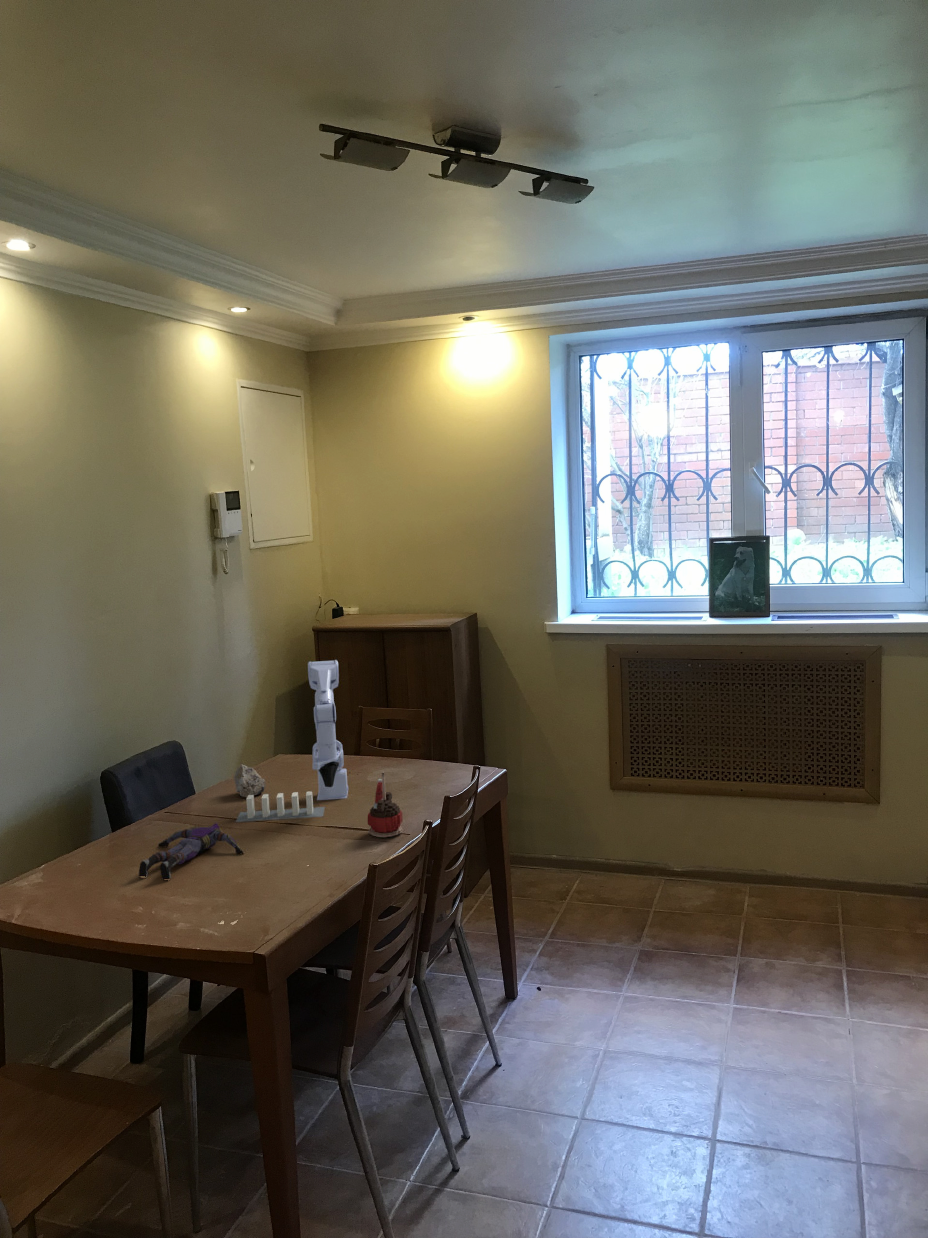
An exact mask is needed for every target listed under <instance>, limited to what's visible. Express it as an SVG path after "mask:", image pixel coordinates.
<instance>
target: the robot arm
mask: <svg viewBox="0 0 928 1238" xmlns="http://www.w3.org/2000/svg"><path fill="white" fill-rule="evenodd" d="M307 674H308V677H307V678H308V682H309V686H310V689H312V690H314V691H315V693H314V707H313V718H314V720H313V721H314V724H315V730H316V731H315V733H316V742H315V743H314V744H313V746H312V763H311V764H312V766H311V767H312V770H314V771H317V780H318V781H317V783H318V793H317V796H316V801H325V800H327V801H328V800H343V799H348V793H349V785H348V774H347V768H343V767H344V766H345V763H344V762H345V761H344V750H343V744H342V742H340V741H339V740H337V735H336V721H337V712H336V705H335V701H334V700H335V699H334V698H335V697H334V689H336V688H338V687H339V683H340V682H339V677H340V674H339V662H338V659H334V660H321V661H308V662H307Z"/></svg>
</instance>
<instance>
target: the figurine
mask: <svg viewBox="0 0 928 1238" xmlns="http://www.w3.org/2000/svg"><path fill="white" fill-rule="evenodd" d="M180 838H182V839H180ZM178 839H180V841H179V842H178V843H177V844H176V845H175V846H173V847H171V848H170V849H168V850H163V851H156V852H155V853H153V854H152V855H151V856H149V858H147V859H143V860H142V861H141V862H140V864H139V869H138V877H139V876H145V877H146V876H147V877H148V876H149V875H148V874H149V870H150V869H151V868H152V867H153V866H154V865H157V864H159V863H160V865H159V868H160V869H159V870H160V875H161V878H163V879H170V878H171V879H172V875H171V869H172V868H173V867H174V866H175V865H182V864H183V863H185V862H186V861H189V860H191V859H193V858H195V857H196V856H197V855H201V854H203V853H204V851H206V850H209V849H208V848H210V849H211V848H213V847H214V846H215V845H216V843H217V842H226V843H228V845H230V846H231V847H233V848H234V849H235V853H236V852H237V853H238V854H240V853H242V854H241V855H244V851H243V850H242V849H241V847H240V846H239V844H238V843H237V842H236V840H235V839H234V837H232V835H230V834H226V833H225V832H223V831H222V830H221V829H220V826H219V824H218V822H215V823H214V824H213V825H211V826H207V827H206V826H203V827H202V826H199V825H195V826H193V827H191V828H189V829H187V828H185V829H183V830H177V831H175V832H173V833H172V834H171V835H170V836H168V838H165V839H164V840H163V841H161V842H160V843H158V844H157V846H158V847H159V846H168V847H169V844H170V843H171V842H174V841H176V840H178ZM205 849H206V850H205ZM163 879H162V880H163ZM171 879H170V880H171Z"/></svg>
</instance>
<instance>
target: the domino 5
mask: <svg viewBox="0 0 928 1238" xmlns="http://www.w3.org/2000/svg"><path fill="white" fill-rule="evenodd" d="M305 798H306V799H305V801H306V802H305V803H306V808H307V815H311V814H313V808H314V800H313V798H314V797H313V791H306V795H305Z"/></svg>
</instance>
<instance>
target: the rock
mask: <svg viewBox="0 0 928 1238" xmlns="http://www.w3.org/2000/svg"><path fill="white" fill-rule="evenodd" d="M265 782H266V781H265V779H264V778H262V776H261V775H260V774H259V773H258V772H257V770H255V769H254V768H253V767H252V766H246V765H245V764H240V765H239V767H237V770H236V771H235V774H234V783H235V788H236V789H235V790H236V792H237V793H239V796H241V797H242V798H246V799H247V797H248V795H254V797H255V796H257V795H263V793H264V791H265V788H266V783H265Z"/></svg>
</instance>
